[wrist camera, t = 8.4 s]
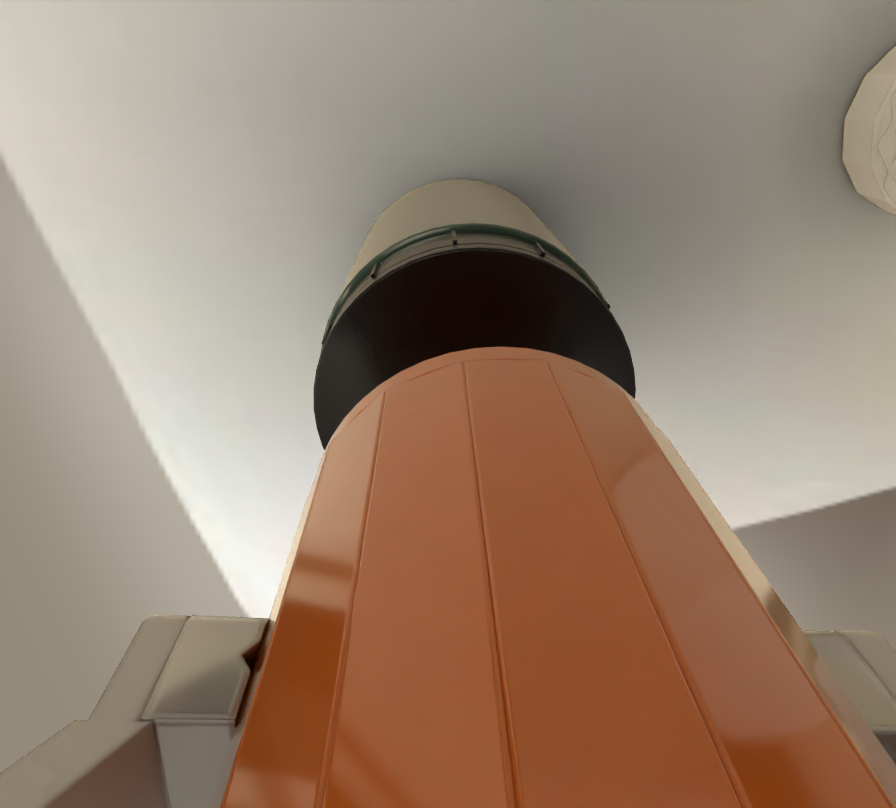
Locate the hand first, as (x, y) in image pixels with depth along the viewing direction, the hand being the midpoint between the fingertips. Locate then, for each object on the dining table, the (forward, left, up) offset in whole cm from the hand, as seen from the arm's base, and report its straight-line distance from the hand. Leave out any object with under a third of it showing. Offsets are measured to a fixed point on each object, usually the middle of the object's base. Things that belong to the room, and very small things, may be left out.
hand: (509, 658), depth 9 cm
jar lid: (0, 0, -9) cm, 9 cm away
